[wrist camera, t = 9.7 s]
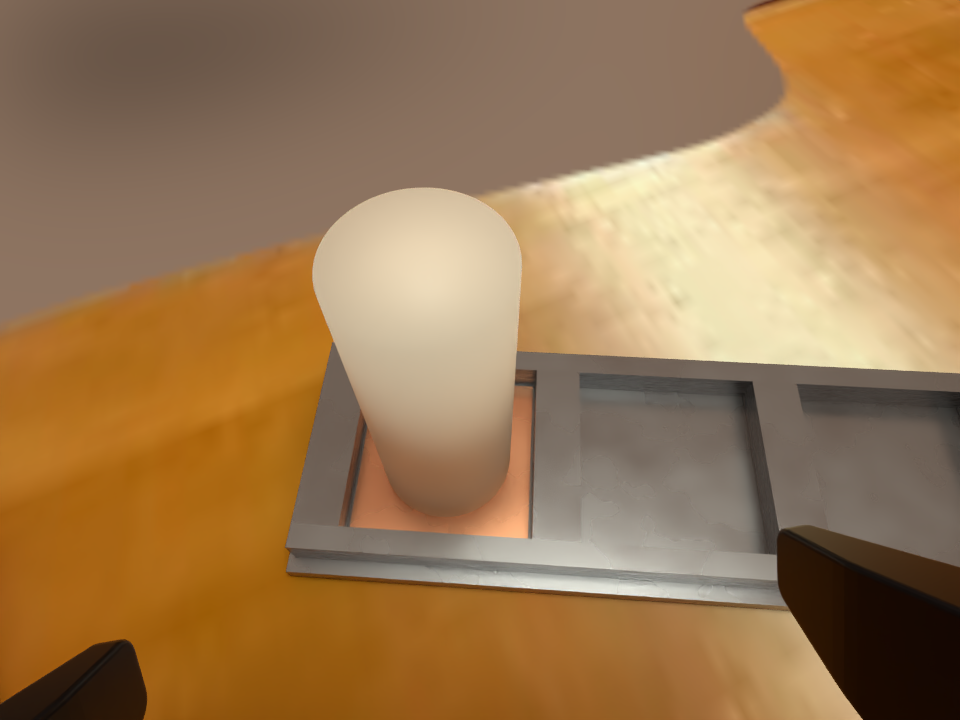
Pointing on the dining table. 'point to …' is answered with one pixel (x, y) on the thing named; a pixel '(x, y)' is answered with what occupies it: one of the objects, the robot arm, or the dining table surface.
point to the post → (428, 338)
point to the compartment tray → (648, 480)
